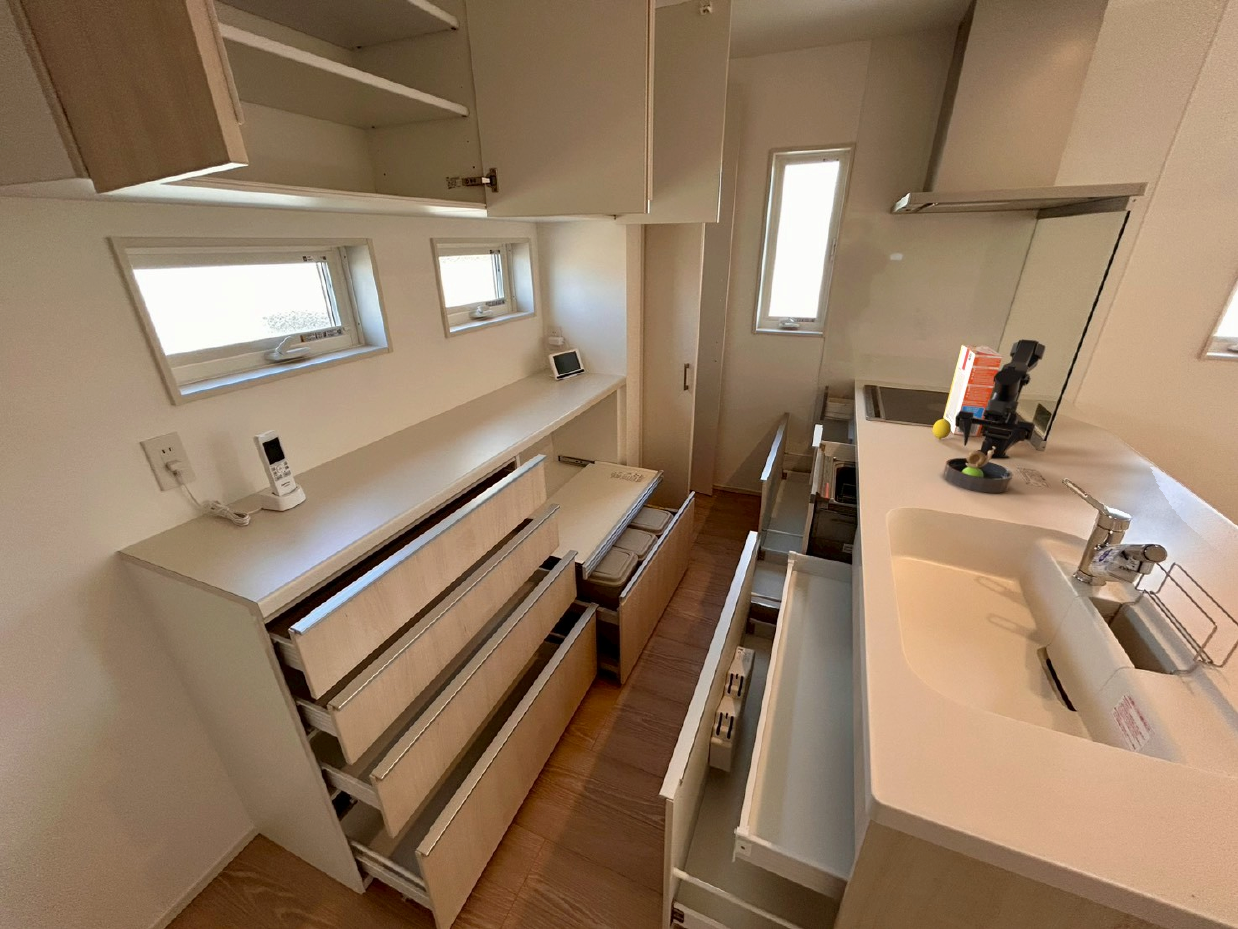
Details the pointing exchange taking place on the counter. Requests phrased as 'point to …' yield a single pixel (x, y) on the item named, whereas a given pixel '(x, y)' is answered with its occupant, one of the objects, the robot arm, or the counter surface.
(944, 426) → the lemon
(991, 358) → the red and white box
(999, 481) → the pan
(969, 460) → the snail figurine
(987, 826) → the counter surface
